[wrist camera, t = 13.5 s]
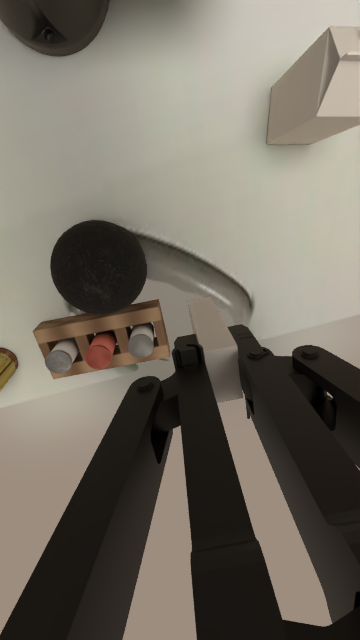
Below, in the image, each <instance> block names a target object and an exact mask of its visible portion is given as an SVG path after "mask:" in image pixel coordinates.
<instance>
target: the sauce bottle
mask: <svg viewBox="0 0 360 640" xmlns="http://www.w3.org/2000/svg"><path fill="white" fill-rule="evenodd" d="M17 366H18V364H17V359H16V357H15V355H14V354H12V353H11V352H10V351H8V350H6V349H2V348H0V391H1V389H2V388H3V387H4V385H5V384H6V383H7V382H8V380H9V379H10V378H11V376H12V375H13V374H14V372H15V370H16V369H17Z"/></svg>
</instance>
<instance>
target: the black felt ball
mask: <svg viewBox="0 0 360 640" xmlns="http://www.w3.org/2000/svg"><path fill="white" fill-rule="evenodd" d="M50 268H51V275H52V279H53V282H54V284H55V286H56V288H57V290H58V291H59V293H60V294H61V295H62V297H63V298H64V299H65V300H66V301H67V302H69V303H70V304H71V305H72V306H74V307H76V308H77V309H79V310H82V311H84V312H87V313H92V314H110V313H114V312H117V311H120V310H122V309H124V308H126V307H127V306H129V305H130V304H131V303H132V302H133V301H134V300H135V299H136V298H137V297H138V295H139V294H140V292H141V291H142V288H143V286H144V284H145V280H146V275H147V265H146V260H145V255H144V253H143V251H142V248H141V246H140V244H139V242H138V241H137V239H136V238H135V237H134V236H133V234H132V233H131V232H129V231H128V230H126V229H125V228H123V227H121V226H118V225H116V224H114V223H110V222H106V221H99V220H91V221H85V222H82V223H79V224H77V225H74V226H73V227H71V228H70V229H69V230H67V231H66V232H64V233H63V235H62V236H61V237H60V238H59V239H58V241H57V243H56V244H55V246H54V249H53V252H52V256H51V265H50Z"/></svg>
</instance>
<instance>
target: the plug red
mask: <svg viewBox="0 0 360 640" xmlns="http://www.w3.org/2000/svg"><path fill="white" fill-rule="evenodd" d="M116 342H117V338H116V335H115V333H114V332H112V331H111V330H107V331H102V332H97V333H96V335H95V337H94V339H93V341H92V343H91V345H90V347H89V349H88V350H87V352H86V354H85V361H86V363H87V364H88V365H89V366H90V367H91V368H93V369H97V370H101V369H105V368H107V367H108V366H109V365H110V363H111V360H112V355H113V352H114V349H115V345H116Z"/></svg>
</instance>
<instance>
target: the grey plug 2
mask: <svg viewBox="0 0 360 640" xmlns="http://www.w3.org/2000/svg"><path fill="white" fill-rule="evenodd" d="M153 337H154V327H153V325H152V324H151V322H148V323H143V324H138V325H133V328H132V333H131V337H130V340H129V343H128V350H129V352H130V354H131V355H133V356H134V357H136V358H146V357H148V356H149V355H150V354H151V353H152V352H153V348H154V344H153Z"/></svg>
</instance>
